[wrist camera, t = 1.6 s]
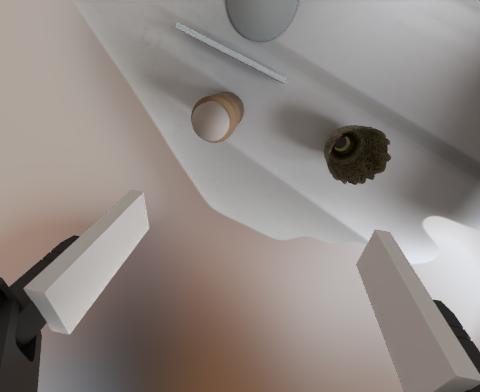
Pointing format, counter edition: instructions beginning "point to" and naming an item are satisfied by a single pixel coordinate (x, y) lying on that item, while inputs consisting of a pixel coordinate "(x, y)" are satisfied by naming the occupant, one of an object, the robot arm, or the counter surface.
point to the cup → (357, 154)
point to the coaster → (261, 17)
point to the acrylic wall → (231, 53)
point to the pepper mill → (217, 116)
